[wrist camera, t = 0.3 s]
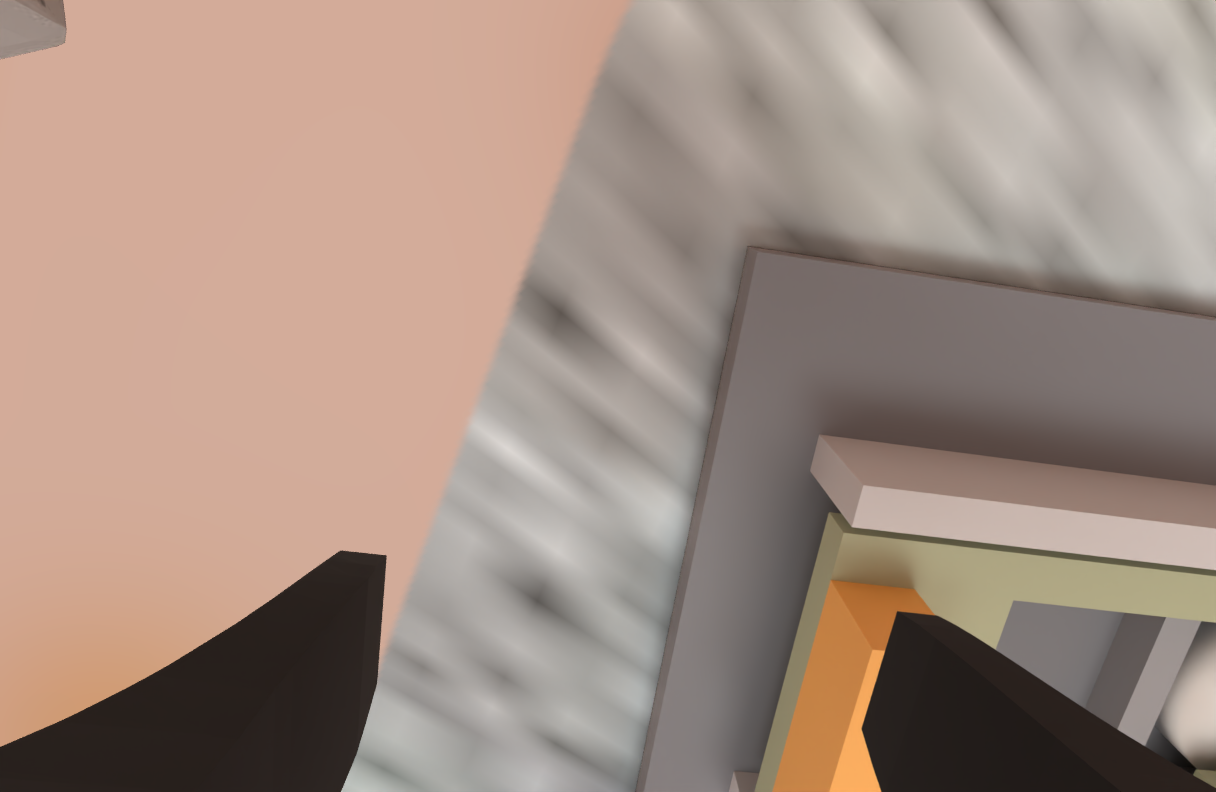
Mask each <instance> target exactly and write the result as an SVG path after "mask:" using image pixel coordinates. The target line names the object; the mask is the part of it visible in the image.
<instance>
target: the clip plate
mask: <svg viewBox="0 0 1216 792" xmlns="http://www.w3.org/2000/svg"><path fill="white" fill-rule="evenodd" d="M1013 600H1016V601H1025V602H1034V603H1043V604H1052V605H1061V606H1070V607H1079V608H1088V609H1097V610H1106V611H1115V612H1124V613H1133V614H1142V615H1151V616H1160V617H1169V618H1178V619H1187V620H1196V621H1205V622H1214V623H1216V570H1210V569H1202V568H1194V567H1185V566H1177V565H1168V564H1160V563H1151V562H1143V561H1134V560H1126V559H1117V558H1109V557H1100V556H1092V555H1083V554H1075V553H1066V552H1058V551H1050V550H1041V549H1033V548H1024V547H1016V546H1007V545H999V544H990V543H982V542H973V541H965V540H956V539H948V538H939V537H931V536H922V535H914V534H905V533H897V532H889V531H880V530H872V529H863V528H855V527H851V525H850V524H849V523H848V521H847V520H846V519H845V517H844V516H843V515H842V514H840V513H832V512H829V514H828V517H827V521H826V525H825V529H824V532H823V536H822V540H821V544H820V547H819V551H818V555H817V559H816V563H815V566H814V570H813V574H812V578H811V581H810V585H809V589H808V593H807V596H806V600H805V604H804V608H803V611H802V615H801V619H800V623H799V626H798V630H797V634H796V638H795V641H794V645H793V649H792V653H791V656H790V660H789V664H788V668H787V671H786V675H785V679H784V683H783V686H782V690H781V694H780V698H779V701H778V705H777V709H776V713H775V716H774V720H773V724H772V728H771V731H770V735H769V739H768V743H767V746H766V750H765V754H764V758H763V761H762V765H761V769H760V773H759V776H758V780H757V784H756V788H755V791H754V792H881V789H880V786H879V783H878V781H877V778H876V775H875V772H874V769H873V766H872V762H871V759H870V756H869V752H868V749H867V746H866V742H865V739H864V736H863V732H862V729H861V728H862V725H863V722H864V718H865V715H866V712H867V708H868V705H869V702H870V699H871V695H872V692H873V689H874V685H875V682H876V679H877V676H878V672H879V669H880V666H881V662H882V659H883V656H884V653H885V649H886V646H887V643H888V639H889V636H890V633H891V630H892V626H893V623H894V620H895V617H896V613H897V611H900V612H910V613H919V614H928V615H937V616H940V617H942V618H943V619H945V620H947V621H949V622H951V623H953V624H955V625H957V626H958V627H960V628H962V629H963V630H965V631H967V632H968V633H970V634H972V635H973V636H975V637H976V638H978V639H980V640H981V641H983V642H984V643H986V644H988V645H989V646H991V647H992V648H994V649H995V650H996V647H997V644H998V642H999V639H1000V636H1001V633H1002V630H1003V628H1004V625H1005V622H1006V619H1007V617H1008V614H1009V611H1010V608H1011V606H1012V603H1013ZM1193 775H1194V776H1196V777H1197V778H1199V779H1201V780H1203V781H1204V782H1206V783H1208V784H1210V785H1211V786H1213V787H1215V788H1216V771H1210V770H1199V769H1196V770H1195V772H1194V774H1193Z"/></svg>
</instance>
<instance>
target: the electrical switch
mask: <svg viewBox="0 0 1216 792" xmlns="http://www.w3.org/2000/svg"><path fill="white" fill-rule="evenodd" d="M65 37H66V21H65V13H64V5H63V0H0V59H3V58H8V57H12V56H16V55H20V54H25V53H30V52H34V51H38V50H43V49H47V48H51V47H56V46H59V45H61V44H63V43H65Z"/></svg>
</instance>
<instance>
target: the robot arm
mask: <svg viewBox="0 0 1216 792" xmlns="http://www.w3.org/2000/svg"><path fill="white" fill-rule="evenodd" d="M385 569H386V555H377V554H368V553H359V552H349V551H340V552H338V553H336V554H335V555H333V556H332V557H331V558H329V559H328V560H326V561H325V562H323V563H322V564H321V565H319V566H318V567H316V568H315V569H313V570H312V571H311V572H309V573H308V574H306V575H305V576H304V577H302V578H301V579H300V580H298V581H297V582H295V583H294V584H292V585H291V586H290V587H288V588H287V589H285V590H284V591H283V592H281V593H280V594H278V595H277V596H276V597H275V598H273V599H272V600H270V601H269V602H267V603H266V604H264V605H263V606H261V607H260V608H258V609H257V610H255V611H254V612H252V613H251V614H249V615H248V616H247V617H245V618H244V619H242V620H241V621H239V622H238V623H236V624H235V625H233V626H232V627H230V628H228V629H227V630H225V631H224V632H222V633H220V634H219V635H217V636H215V637H214V638H212V639H210V640H209V641H207V642H206V643H204V644H203V645H201V646H199V647H197V648H196V649H194V650H193V651H191V652H189V653H188V654H186V655H185V656H183V657H181V658H180V659H178V660H176V661H175V662H173V663H171V664H170V665H168V666H166V667H164V668H163V669H161V670H159V671H158V672H156V673H154V674H152V675H150V676H149V677H147V678H145V679H143V680H141V681H139V682H137V683H135V684H134V685H132V686H130V687H128V688H126V689H124V690H122V691H120V692H118V693H116V694H114V695H112V696H110V697H108V698H106V699H104V700H102V701H100V702H98V703H97V704H94V705H92V706H91V707H88V708H86V709H84V710H83V711H80V712H78V713H77V714H74V715H72V716H70V717H68V718H66V719H64V720H62V721H59V722H57V723H55V724H53V725H50V726H48V727H46V728H44V729H41V730H39V731H36V732H34V733H32V734H30V735H27V736H25V737H22V738H20V739H18V740H16V741H13V742H11V743H9V744H7V745H4V746H2V747H0V792H341V790H342V788H343V785H344V783H345V781H346V778H347V776H348V773H349V771H350V768H351V766H352V764H353V761H354V759H355V756H356V754H357V751H358V747H359V744H360V741H361V737H362V734H363V731H364V727H365V724H366V720H367V717H368V713H369V710H370V706H371V703H372V699H373V696H374V692H375V689H376V685H377V677H378V663H379V650H380V636H381V622H382V609H383V596H384V582H385ZM861 729H862V732H863V736H864V739H865V742H866V746H867V749H868V752H869V756H870V759H871V762H872V766H873V769H874V772H875V775H876V778H877V781H878V783H879V786H880V789H881V792H1216V788H1215V787H1213V786H1211V785H1210V784H1208V783H1206V782H1204V781H1203V780H1201V779H1199V778H1197V777H1196V776H1194V775H1192V774H1190V773H1189V772H1187V771H1185V770H1183V769H1182V768H1180V767H1178V766H1177V765H1175V764H1173V763H1172V762H1170V761H1168V760H1167V759H1165V758H1163V757H1162V756H1160V755H1158V754H1157V753H1155V752H1154V751H1152V750H1150V749H1149V748H1147V747H1145V746H1144V745H1142V744H1140V743H1139V742H1137V741H1135V740H1134V739H1132V738H1131V737H1129V736H1127V735H1126V734H1124V733H1122V732H1121V731H1119V730H1118V729H1116V728H1114V727H1113V726H1111V725H1110V724H1108V723H1107V722H1105V721H1103V720H1102V719H1100V718H1099V717H1097V716H1096V715H1094V714H1092V713H1091V712H1089V711H1088V710H1086V709H1085V708H1083V707H1082V706H1080V705H1079V704H1077V703H1076V702H1074V701H1072V700H1071V699H1069V698H1068V697H1066V696H1065V695H1063V694H1062V693H1060V692H1059V691H1057V690H1056V689H1054V688H1053V687H1051V686H1050V685H1048V684H1047V683H1045V682H1044V681H1042V680H1041V679H1039V678H1038V677H1036V676H1035V675H1033V674H1032V673H1030V672H1029V671H1027V670H1026V669H1024V668H1023V667H1021V666H1020V665H1018V664H1017V663H1015V662H1014V661H1012V660H1010V659H1009V658H1007V657H1006V656H1004V655H1003V654H1001V653H1000V652H998V651H997V650H995V649H994V648H992V647H991V646H989V645H988V644H986V643H984V642H983V641H981V640H980V639H978V638H976V637H975V636H973V635H972V634H970V633H968V632H967V631H965V630H963V629H962V628H960V627H958V626H957V625H955V624H953V623H951V622H949V621H947V620H945V619H943V618H942V617H940V616H937V615H928V614H919V613H910V612H900V611H897V613H896V617H895V620H894V623H893V626H892V630H891V633H890V636H889V639H888V643H887V646H886V649H885V653H884V656H883V659H882V662H881V666H880V669H879V672H878V676H877V679H876V682H875V685H874V689H873V692H872V695H871V699H870V702H869V705H868V708H867V712H866V715H865V718H864V722H863V725H862V728H861Z"/></svg>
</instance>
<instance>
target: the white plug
mask: <svg viewBox="0 0 1216 792" xmlns="http://www.w3.org/2000/svg"><path fill="white" fill-rule="evenodd" d="M1155 726H1156V727H1157V729H1158V730H1159V731H1160V733H1161V734H1162V735H1163V736H1164V737H1165V738H1166V739H1167V740H1168V741H1169V742H1170V743H1171V744H1172V745H1173V746H1174V747H1175V748H1176V749H1177V750H1178V751H1179V752H1180V753H1181V754H1182V755H1183V756H1184V757H1185V758H1186V759H1187V760H1188V761H1189V762H1190V763H1191V764H1192V765H1194V766H1195V767H1196V768H1197V769H1199V770H1210V771H1216V623H1214V622H1205V621H1201V623H1200V626H1199V628H1198V630H1197V632H1196V634H1195V637H1194V639H1193V641H1192V643H1191V645H1190V648H1189V650H1188V652H1187V654H1186V656H1185V659H1184V661H1183V663H1182V665H1181V667H1180V670H1179V672H1178V674H1177V676H1176V678H1175V681H1174V683H1173V685H1172V687H1171V689H1170V692H1169V694H1168V696H1167V698H1166V701H1165V703H1164V705H1163V707H1162V709H1161V712H1160V714H1159V716H1158V718H1157V720H1156V723H1155Z"/></svg>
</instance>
